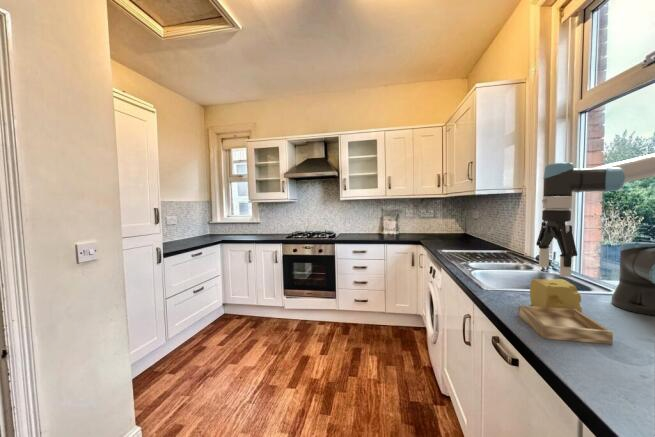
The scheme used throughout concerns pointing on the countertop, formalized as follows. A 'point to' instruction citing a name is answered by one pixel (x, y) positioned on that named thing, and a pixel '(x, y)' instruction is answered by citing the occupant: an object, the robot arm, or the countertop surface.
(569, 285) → the cheese
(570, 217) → the robot arm
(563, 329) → the wooden tray
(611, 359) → the countertop surface
